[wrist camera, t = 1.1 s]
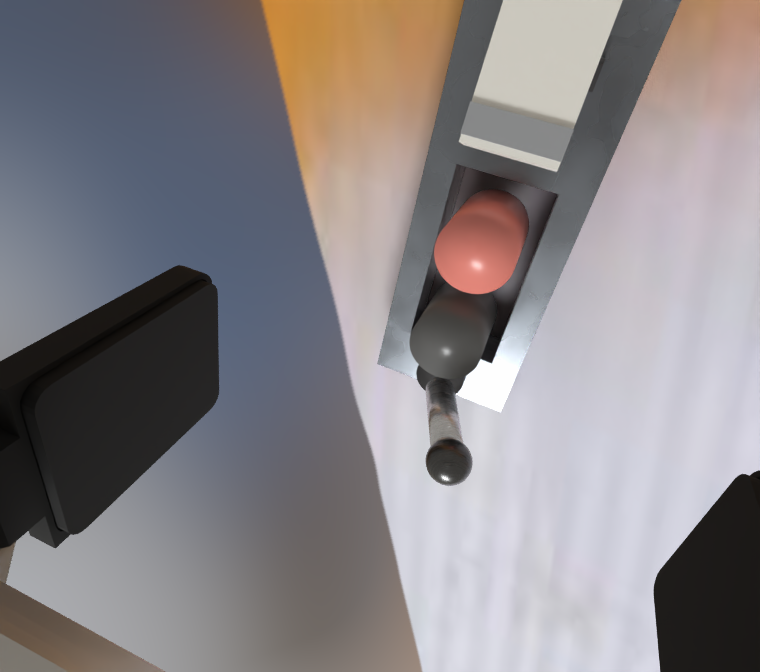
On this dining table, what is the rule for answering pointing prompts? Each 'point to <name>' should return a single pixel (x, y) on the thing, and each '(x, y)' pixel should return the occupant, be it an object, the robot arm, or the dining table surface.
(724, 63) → the dining table surface
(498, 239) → the button
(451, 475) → the toggle
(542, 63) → the block
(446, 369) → the button
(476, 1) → the panel
